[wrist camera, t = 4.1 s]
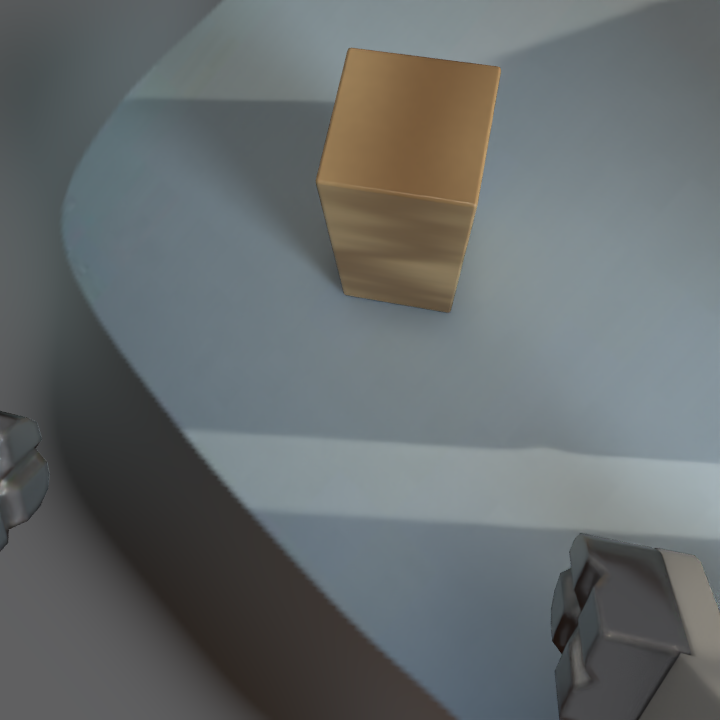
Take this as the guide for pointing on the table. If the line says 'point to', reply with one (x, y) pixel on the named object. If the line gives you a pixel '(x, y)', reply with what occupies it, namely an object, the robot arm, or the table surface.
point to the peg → (405, 173)
